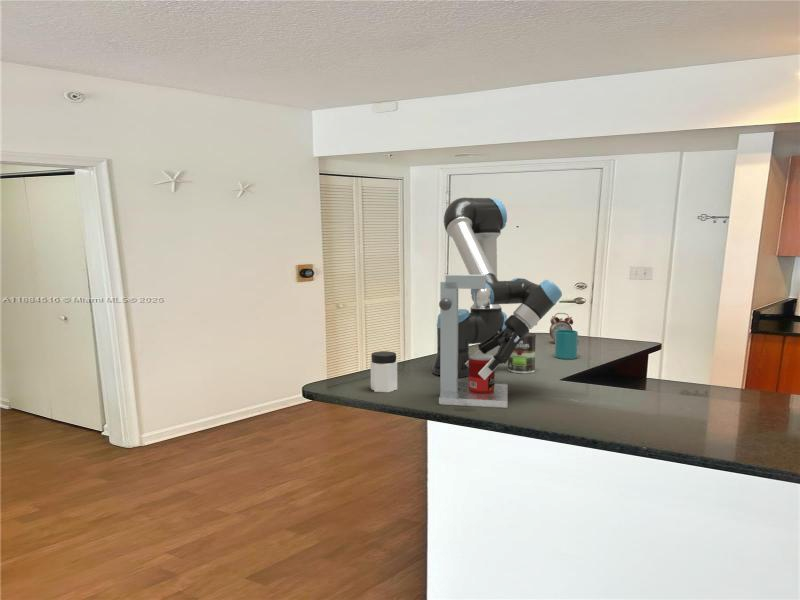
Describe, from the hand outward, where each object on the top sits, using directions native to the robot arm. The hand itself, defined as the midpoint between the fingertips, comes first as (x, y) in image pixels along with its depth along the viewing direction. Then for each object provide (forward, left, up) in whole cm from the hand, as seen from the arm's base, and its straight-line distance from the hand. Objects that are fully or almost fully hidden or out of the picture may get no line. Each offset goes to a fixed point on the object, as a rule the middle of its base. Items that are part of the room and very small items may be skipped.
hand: (474, 371), depth 167 cm
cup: (-70, +35, -8) cm, 79 cm away
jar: (-5, -30, -8) cm, 31 cm away
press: (+1, 0, -8) cm, 8 cm away
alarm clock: (-103, +35, -8) cm, 109 cm away
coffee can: (-41, +15, -8) cm, 44 cm away
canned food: (-1, +2, -6) cm, 7 cm away
